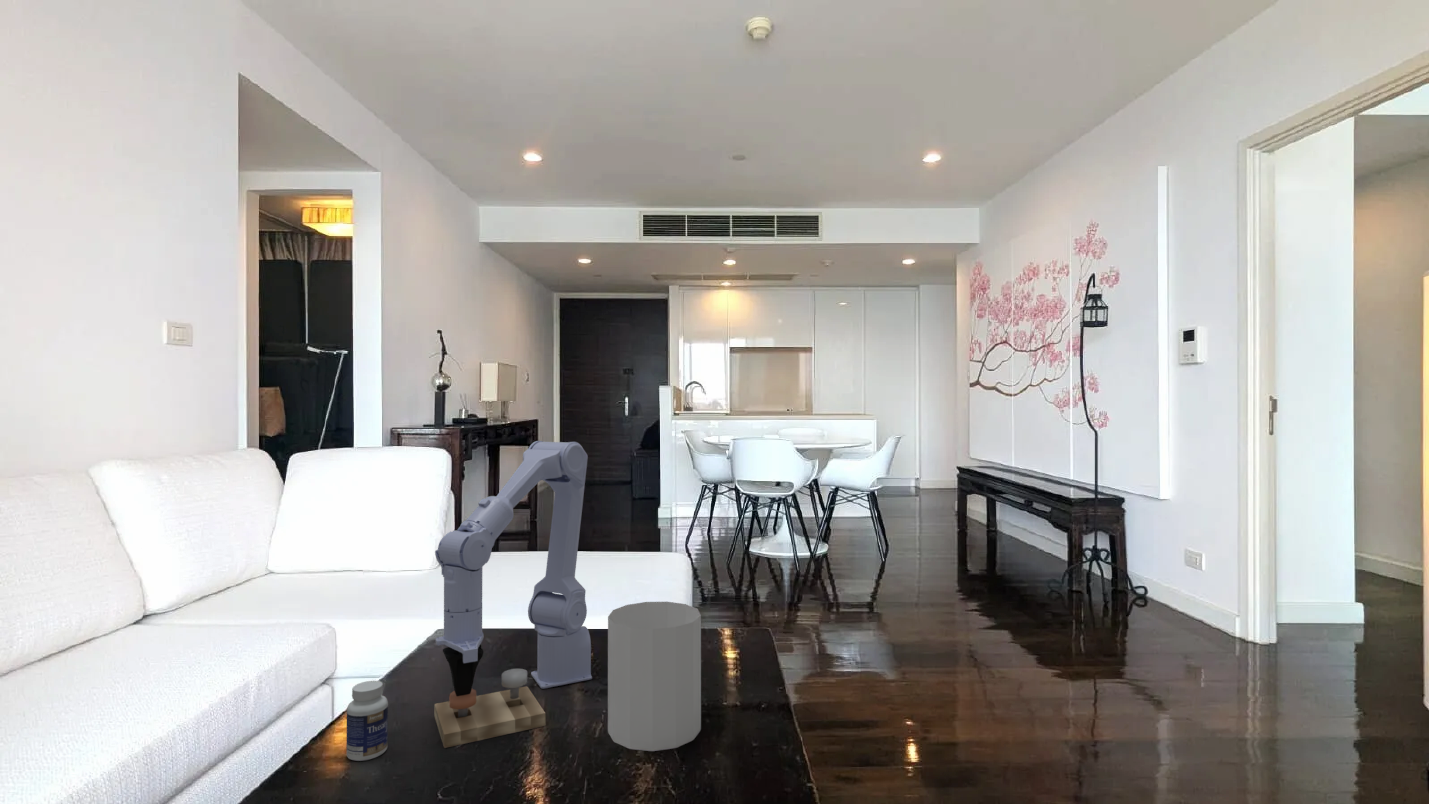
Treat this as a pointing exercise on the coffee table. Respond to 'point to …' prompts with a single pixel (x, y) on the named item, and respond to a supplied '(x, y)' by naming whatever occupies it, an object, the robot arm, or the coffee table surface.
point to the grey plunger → (514, 681)
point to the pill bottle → (367, 722)
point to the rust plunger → (462, 702)
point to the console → (489, 717)
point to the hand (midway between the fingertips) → (462, 693)
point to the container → (654, 675)
